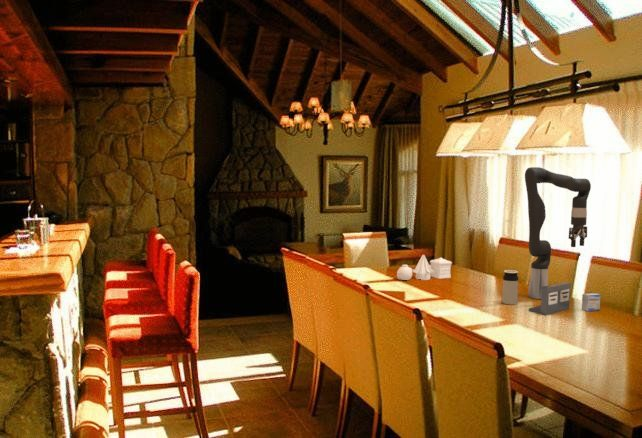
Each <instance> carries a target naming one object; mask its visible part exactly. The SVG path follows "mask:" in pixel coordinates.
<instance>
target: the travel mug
mask: <svg viewBox="0 0 642 438" xmlns="http://www.w3.org/2000/svg"><path fill="white" fill-rule="evenodd" d="M503 273H504V275H503V277H502V296H501V297H502V299H501V301H502V302H501V303H502V304H504V305H508V306H509V305H510V306H512V305H513V306H514V305H517V304H518V300H519V299H518V297H519V295H518V293H519V276H518V273H519V271H517V270H515V269H514V270H513V269H505V270H503Z"/></svg>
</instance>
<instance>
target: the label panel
mask: <svg viewBox="0 0 642 438" xmlns="http://www.w3.org/2000/svg"><path fill="white" fill-rule="evenodd" d="M571 284H572V283H571V282H567V281H563V282H560V283H555V284H550V285H548V286H544V287H542V293H541V299H540V300H541V301H540V305H536V306H533V307H528V312H531V313H535V314H540V315H545V316H547V315H551V314H555V313H558V312H562V311H566V310H570V309H571V308H570V304H571V303H570V302H571V301H570V300H571Z"/></svg>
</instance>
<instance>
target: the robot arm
mask: <svg viewBox="0 0 642 438" xmlns="http://www.w3.org/2000/svg"><path fill="white" fill-rule="evenodd" d="M524 181H525V186H526V187H525V188H526V195H527V196H526V197H527V210H528V212H527V213H528V227H529V228H528V236H529V237H528V251H529V255H530V256H532V257H535V258H536V257H537V258H536V259H535V260H534V261H532V262H531V264H530V266H531V267H530V280H529V281H528V297H529V298H531V299H537V300H541V293H542V287H544V286H549V285H548V283H549V266H550V264H551V257H552V256H551V255H552V246H551V243H550V242H549V241H548V240H545V239H542V240H541V237H540V235H541V230H542V227H543V225H544V224H545V221H546V205H545V202H544V200H543V199H542V197H541V196H540V194H539V190H538V184H542V183H543V184H552V185H554V186H555V187H558V188H561V189H566V190H569V191H571V192H575V193H577V195H576V196H573V198H572V202H571V203H572V204H571V211H570V212H571V213H570V214H571V216H570V217H571V218H570V224H571V226H572V227H569V228H568V239H569V240H570V247H572V248H576V246H577V245H576V244H577V238H578V237H579V246H580V247H582V246H583V247H584V246H585V239H586V238H588V226H586V225H587V215H588V213H587V212H588V210H587V204H588V201H587V200H588V198H589V195H590V192H591V189H592V187H591V186H592V185H591V182H590V180H589V179H588V178H574V177H572V176H570V175H565V174H561V173H555V172H552V171H550V170H548V169H545V168H542V167H539V166H537V167H534V166H533V167H532V166H530V167H528V168H527V169H525V173H524Z"/></svg>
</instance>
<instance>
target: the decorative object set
mask: <svg viewBox="0 0 642 438" xmlns="http://www.w3.org/2000/svg"><path fill="white" fill-rule="evenodd" d="M452 264H453V262H452V261H450V260H447V259H446V258H443V257H438V258H435V259H431V260H430V261H429V262H428V259H427V257H426V255H425V254H422V255H421V256H420V259H419V260H418V263H417V264H416V266H415V268H412V267H410V266H409V265H408V264H402V265H401V266H400V267H399V268H398V269H397V271H396V278H397V279H398V280H401V281H403V280H407V281H409V280H410V279H412V277H413V273H415V279H416V280H418V279H421V280H420V281H427V280H428V281H429V280H431V277H432V278H435V279H440V280H441V279H451V277H452V275H451V269H452V268H451V267H452Z"/></svg>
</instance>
